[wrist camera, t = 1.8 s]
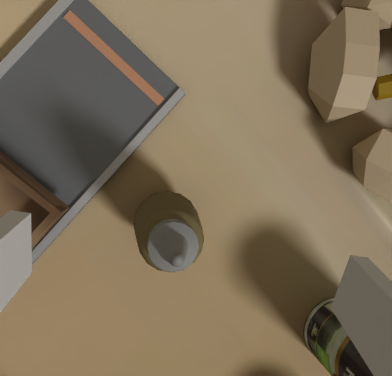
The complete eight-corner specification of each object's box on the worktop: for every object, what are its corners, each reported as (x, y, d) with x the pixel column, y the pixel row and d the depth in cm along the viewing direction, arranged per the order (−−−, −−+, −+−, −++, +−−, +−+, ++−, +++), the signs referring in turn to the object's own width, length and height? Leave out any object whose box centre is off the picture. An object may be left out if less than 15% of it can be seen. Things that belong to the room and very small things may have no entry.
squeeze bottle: (149, 179, 41) (149, 191, 23) (204, 202, 42) (243, 231, 24) (125, 234, 41) (106, 289, 23) (180, 256, 42) (202, 324, 24)
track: (-14, 315, 39) (-20, 320, 38) (-144, 224, 36) (-155, 227, 35) (184, 95, 41) (185, 92, 39) (75, -9, 38) (72, -16, 36)
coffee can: (319, 373, 47) (391, 461, 33) (292, 318, 46) (355, 386, 32) (375, 339, 48) (467, 411, 34) (350, 284, 47) (436, 335, 33)
